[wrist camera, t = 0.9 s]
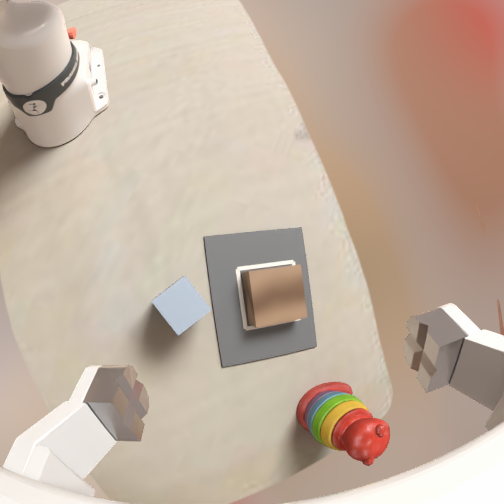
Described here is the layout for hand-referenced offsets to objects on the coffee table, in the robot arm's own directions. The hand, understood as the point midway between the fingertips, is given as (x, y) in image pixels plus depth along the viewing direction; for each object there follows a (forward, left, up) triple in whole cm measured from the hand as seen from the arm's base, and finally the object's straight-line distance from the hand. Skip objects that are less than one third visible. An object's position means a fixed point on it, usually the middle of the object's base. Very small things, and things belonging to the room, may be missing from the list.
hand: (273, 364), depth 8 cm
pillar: (0, -1, -38) cm, 38 cm away
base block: (+1, +13, -37) cm, 39 cm away
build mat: (+1, +12, -38) cm, 39 cm away
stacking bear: (+23, +20, -38) cm, 49 cm away
